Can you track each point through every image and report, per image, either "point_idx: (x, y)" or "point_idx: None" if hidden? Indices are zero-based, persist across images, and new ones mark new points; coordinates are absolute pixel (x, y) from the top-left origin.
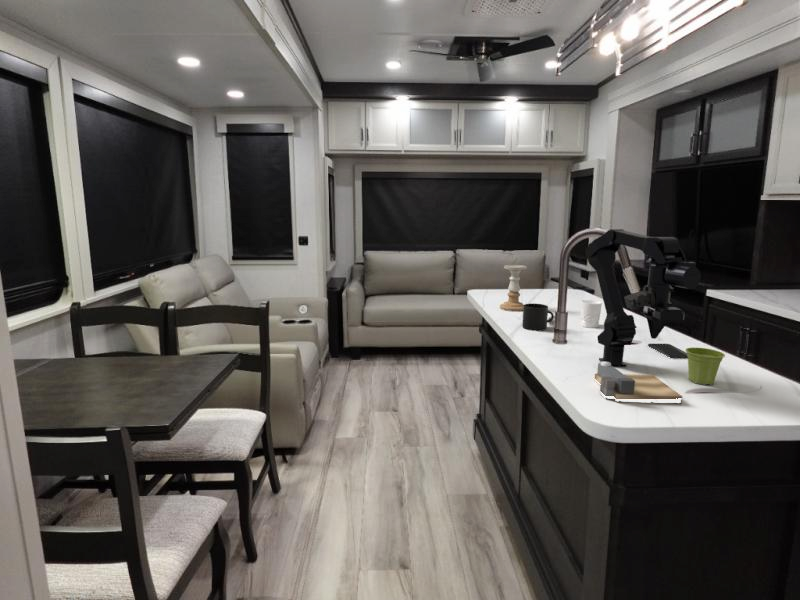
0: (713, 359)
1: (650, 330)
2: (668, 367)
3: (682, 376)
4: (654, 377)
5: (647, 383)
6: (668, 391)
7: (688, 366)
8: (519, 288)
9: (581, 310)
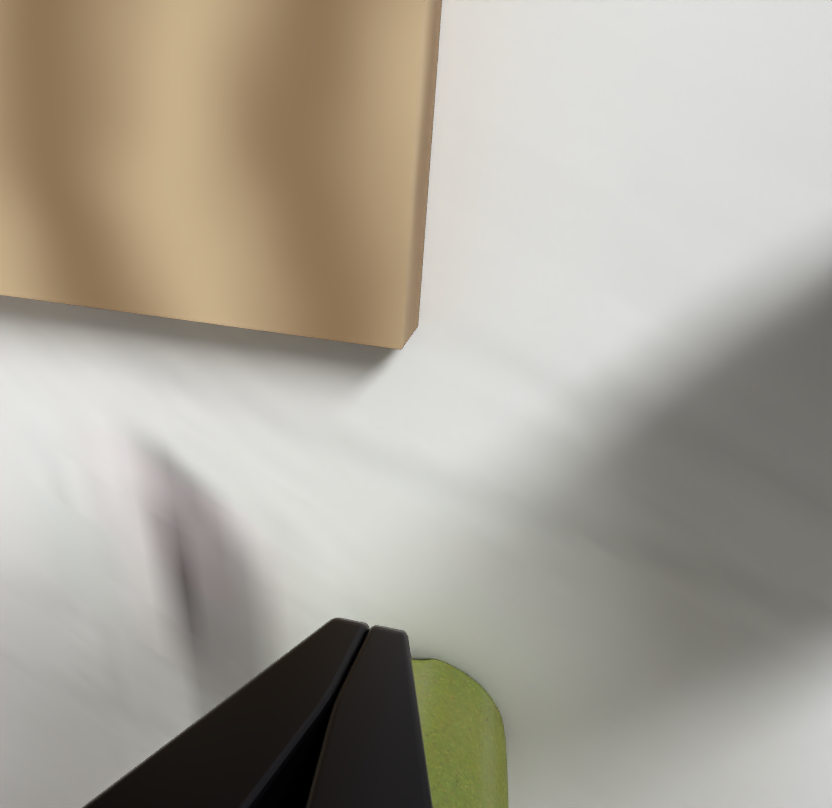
0: None
1: (337, 759)
2: (823, 728)
3: (549, 675)
4: (312, 314)
5: (110, 118)
6: None
7: (439, 753)
8: None
9: None
